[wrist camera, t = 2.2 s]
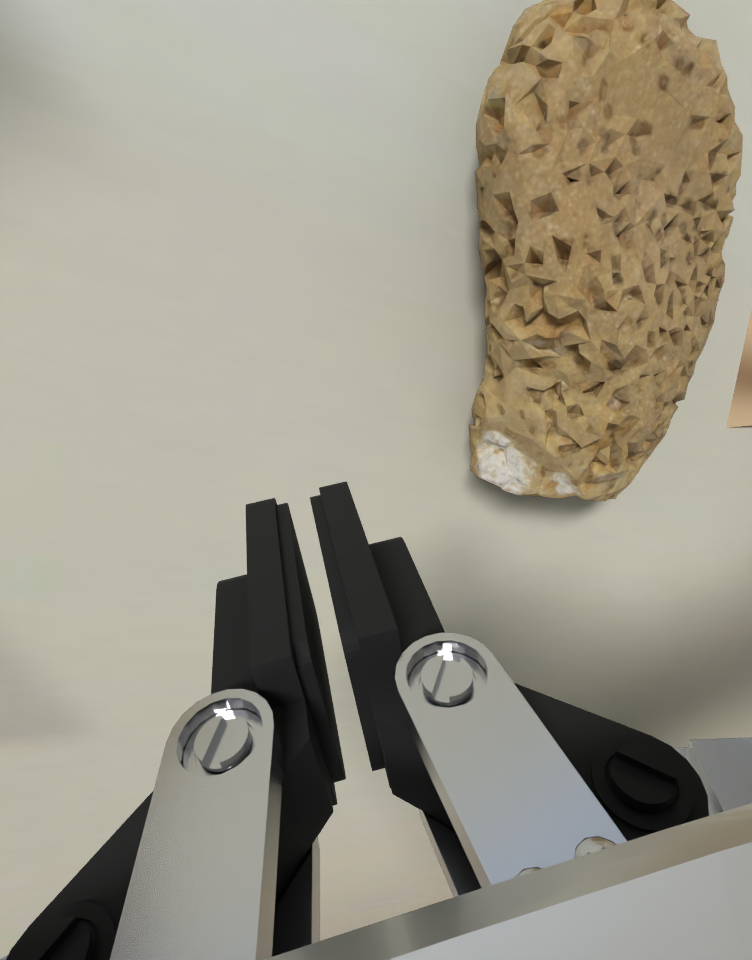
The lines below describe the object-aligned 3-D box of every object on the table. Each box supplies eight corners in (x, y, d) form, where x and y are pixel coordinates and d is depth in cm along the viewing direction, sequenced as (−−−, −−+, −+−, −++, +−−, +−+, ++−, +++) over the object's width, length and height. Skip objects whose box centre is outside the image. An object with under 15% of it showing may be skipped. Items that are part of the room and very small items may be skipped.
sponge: (597, 443, 34) (824, 39, 22) (644, 533, 28) (995, 43, 16) (390, 406, 33) (507, -53, 20) (392, 492, 27) (561, -88, 14)
